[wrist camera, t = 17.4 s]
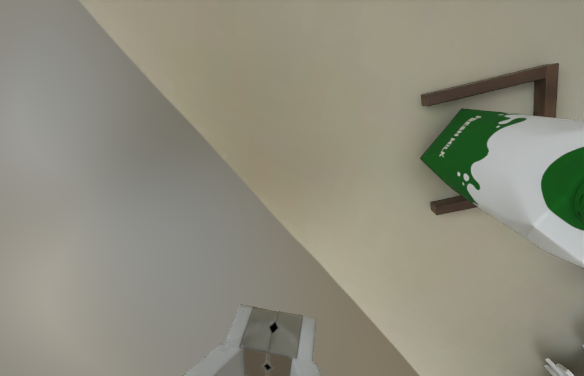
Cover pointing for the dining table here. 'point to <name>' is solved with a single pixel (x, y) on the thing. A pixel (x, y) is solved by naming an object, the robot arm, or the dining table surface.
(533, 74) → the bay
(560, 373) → the spiral staircase
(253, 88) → the dining table surface
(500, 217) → the soya milk
